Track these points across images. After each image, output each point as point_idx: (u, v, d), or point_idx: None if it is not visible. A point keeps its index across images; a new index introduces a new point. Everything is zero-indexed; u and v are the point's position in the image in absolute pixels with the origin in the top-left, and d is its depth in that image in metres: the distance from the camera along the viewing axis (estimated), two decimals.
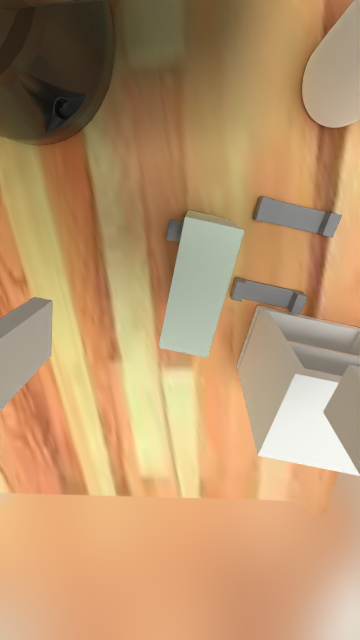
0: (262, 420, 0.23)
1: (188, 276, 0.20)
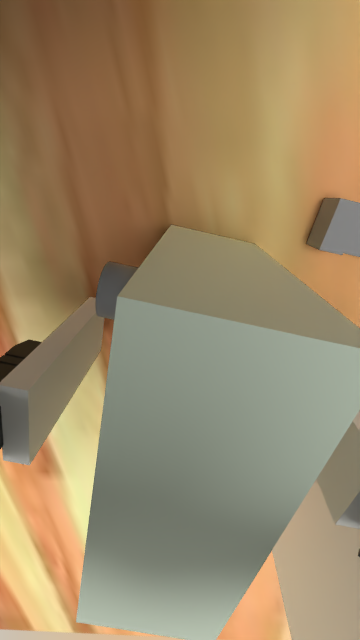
0: None
1: (148, 489, 0.05)
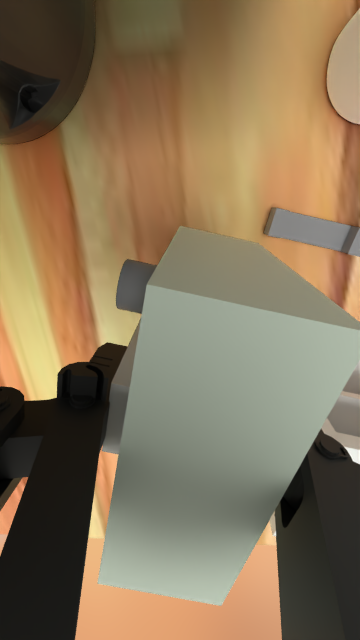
0: None
1: (167, 454, 0.06)
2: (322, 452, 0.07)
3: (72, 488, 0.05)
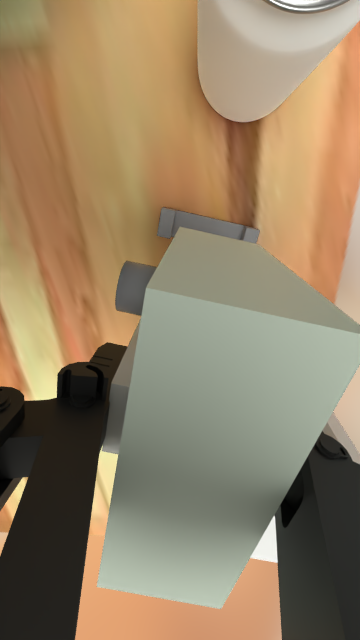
0: None
1: (167, 458, 0.06)
2: (322, 452, 0.07)
3: (72, 488, 0.05)
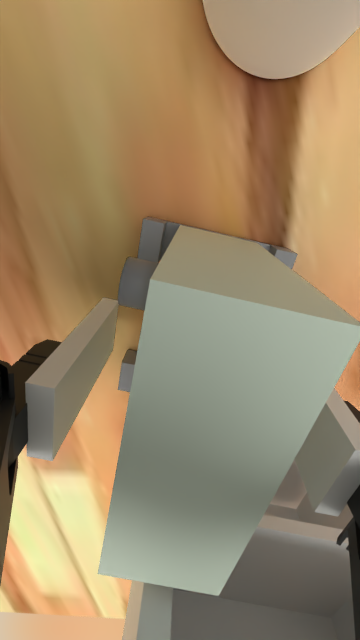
0: None
1: (167, 445, 0.06)
2: None
3: None
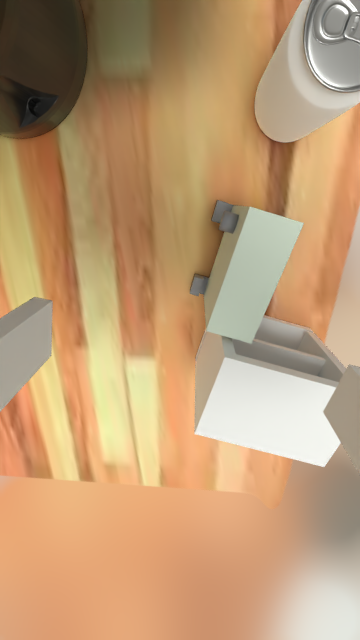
0: (201, 402, 0.25)
1: (244, 263, 0.21)
2: None
3: None
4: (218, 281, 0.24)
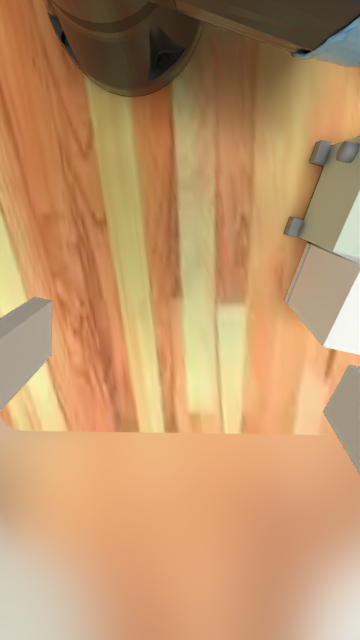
0: (325, 319, 0.28)
1: None
2: None
3: None
4: (338, 207, 0.27)
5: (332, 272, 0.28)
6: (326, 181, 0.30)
